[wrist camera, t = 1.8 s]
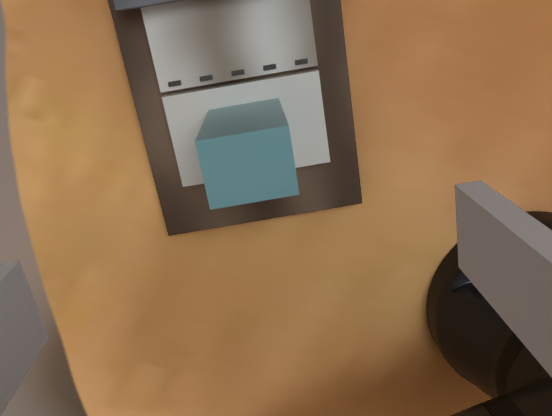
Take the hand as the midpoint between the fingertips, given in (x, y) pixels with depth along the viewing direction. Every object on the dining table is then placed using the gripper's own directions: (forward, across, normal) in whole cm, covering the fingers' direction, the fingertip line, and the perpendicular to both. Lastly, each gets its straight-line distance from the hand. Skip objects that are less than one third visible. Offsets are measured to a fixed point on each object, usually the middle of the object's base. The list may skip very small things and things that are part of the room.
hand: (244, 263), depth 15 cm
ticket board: (+22, 0, -3) cm, 22 cm away
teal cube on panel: (+20, 0, 0) cm, 20 cm away
